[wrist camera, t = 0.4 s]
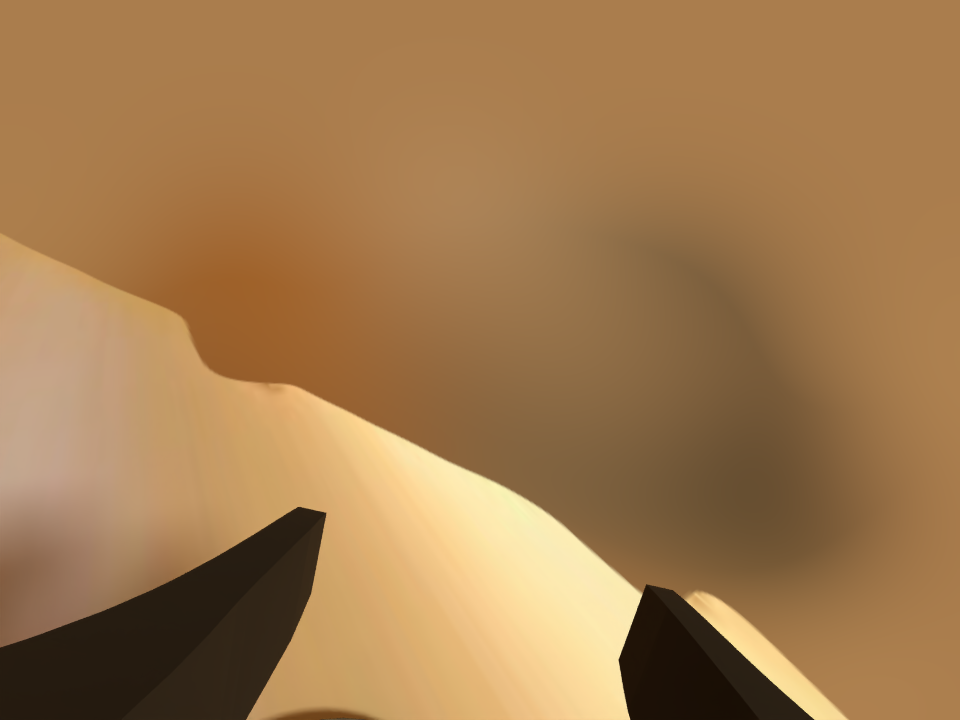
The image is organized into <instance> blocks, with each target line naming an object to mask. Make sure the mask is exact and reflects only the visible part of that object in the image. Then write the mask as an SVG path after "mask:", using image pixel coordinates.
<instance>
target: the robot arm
mask: <svg viewBox="0 0 960 720" xmlns="http://www.w3.org/2000/svg"><path fill="white" fill-rule="evenodd" d="M325 518H326V513H324V512H320V511H315V510H311V509H306V508H302V507H297V508H296V509H294V510H292V511H291V512H289V513H287V514H286V515H284V516H283V517H281V518H279V519H278V520H276V521H275V522H273V523H271V524H270V525H268V526H267V527H265V528H264V529H262V530H260V531H259V532H257V533H256V534H254V535H252V536H251V537H249V538H247V539H246V540H244V541H242V542H241V543H239V544H237V545H236V546H234V547H232V548H231V549H229V550H227V551H226V552H224V553H222V554H220V555H219V556H217V557H215V558H213V559H212V560H210V561H208V562H206V563H204V564H202V565H200V566H198V567H197V568H195V569H193V570H191V571H189V572H187V573H185V574H184V575H182V576H180V577H178V578H176V579H174V580H172V581H170V582H168V583H166V584H164V585H162V586H159V587H157V588H155V589H153V590H151V591H149V592H146V593H144V594H142V595H140V596H137V597H135V598H133V599H130V600H128V601H126V602H124V603H121V604H119V605H117V606H114V607H112V608H109V609H107V610H105V611H102V612H99V613H97V614H94V615H91V616H89V617H86V618H83V619H81V620H78V621H75V622H72V623H70V624H67V625H64V626H62V627H59V628H56V629H54V630H51V631H48V632H46V633H43V634H40V635H37V636H35V637H32V638H29V639H26V640H23V641H20V642H17V643H14V644H10V645H7V646H4V647H1V648H0V720H246V719H247V717H248V715H249V713H250V712H251V710H252V708H253V706H254V705H255V703H256V701H257V699H258V698H259V696H260V694H261V692H262V691H263V689H264V687H265V685H266V684H267V682H268V680H269V678H270V677H271V675H272V673H273V671H274V669H275V668H276V666H277V664H278V662H279V661H280V659H281V657H282V655H283V653H284V652H285V650H286V648H287V646H288V644H289V643H290V641H291V639H292V637H293V634H294V632H295V630H296V627H297V625H298V623H299V621H300V618H301V616H302V614H303V611H304V609H305V607H306V604H307V602H308V600H309V597H310V595H311V591H312V586H313V581H314V576H315V570H316V565H317V560H318V555H319V549H320V544H321V539H322V534H323V528H324V523H325ZM619 665H620V671H621V677H622V683H623V689H624V694H625V699H626V704H627V709H628V713H629V716H630V720H814V719H813V718H812V717H811V716H810V715H808V714H807V713H806V712H805V711H804V710H803V709H802V708H800V707H799V706H798V705H797V704H796V703H795V702H794V701H792V700H791V699H790V698H789V697H788V696H787V695H786V694H784V693H783V692H782V691H781V690H780V689H779V688H778V687H777V686H776V685H774V684H773V683H772V682H771V681H770V680H769V679H768V678H767V677H766V676H765V675H764V674H762V673H761V672H760V671H759V670H758V669H757V668H756V667H755V666H754V665H753V664H752V663H751V662H750V661H749V660H748V659H746V658H745V657H744V656H743V655H742V654H741V653H740V652H739V651H738V650H737V649H736V648H735V647H734V646H733V645H732V644H731V643H730V642H729V641H728V640H727V639H725V638H724V637H723V636H722V635H721V634H720V633H719V632H718V631H717V630H716V629H715V628H714V627H713V626H712V625H711V624H710V623H709V622H708V621H707V620H706V619H705V618H704V617H702V616H701V615H700V614H699V613H698V612H697V611H696V610H695V609H694V608H693V607H692V606H691V605H689V604H688V603H687V602H686V601H685V600H684V599H683V598H681V597H680V596H679V595H678V594H676V593H675V592H674V591H673V590H669V589H665V588H660V587H656V586H651V585H646V587H645V589H644V592H643V595H642V598H641V600H640V603H639V606H638V608H637V611H636V614H635V617H634V619H633V622H632V625H631V628H630V630H629V633H628V636H627V638H626V641H625V644H624V647H623V649H622V652H621V655H620V658H619Z"/></svg>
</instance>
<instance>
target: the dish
mask: <svg viewBox="0 0 960 720" xmlns="http://www.w3.org/2000/svg"><path fill="white" fill-rule="evenodd" d="M322 720H364V719H350V718H337V719H322Z"/></svg>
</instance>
